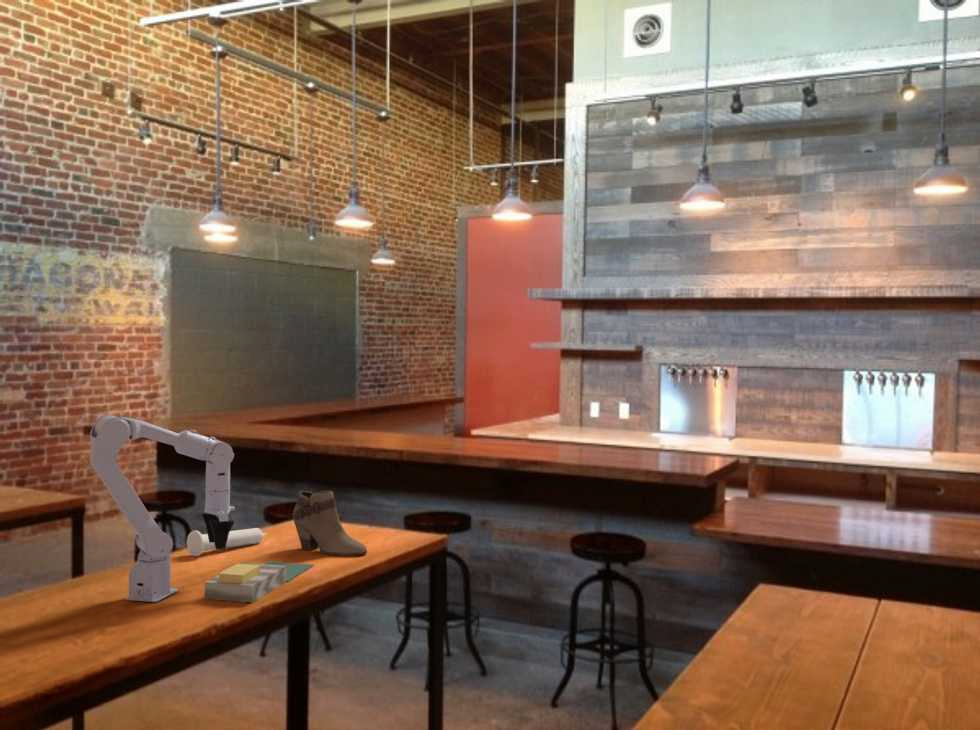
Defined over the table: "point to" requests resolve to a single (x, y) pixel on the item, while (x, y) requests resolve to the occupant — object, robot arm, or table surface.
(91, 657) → the table surface
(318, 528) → the boot
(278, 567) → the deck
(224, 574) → the yellow rectangular block
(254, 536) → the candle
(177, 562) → the table surface
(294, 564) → the mat
